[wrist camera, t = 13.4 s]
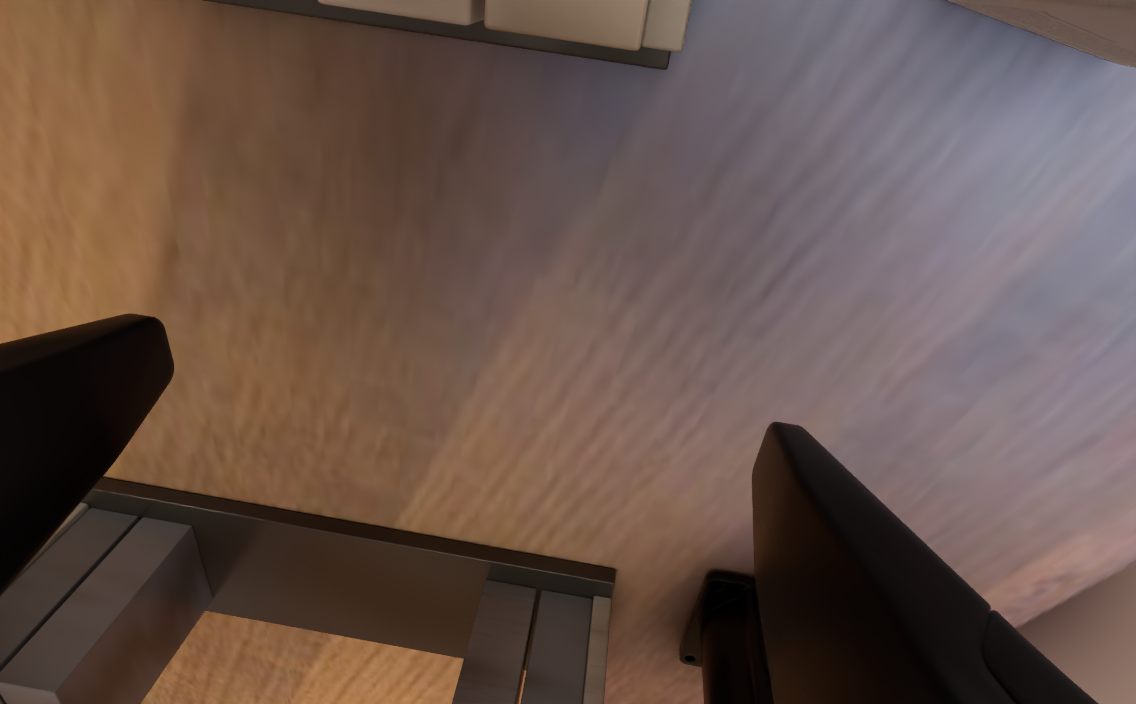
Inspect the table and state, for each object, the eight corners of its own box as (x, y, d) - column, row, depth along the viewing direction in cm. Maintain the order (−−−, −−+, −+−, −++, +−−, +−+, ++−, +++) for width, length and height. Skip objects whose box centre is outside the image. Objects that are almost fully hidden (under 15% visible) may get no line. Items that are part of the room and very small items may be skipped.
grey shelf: (591, 667, 33) (572, 873, 26) (122, 581, 34) (-27, 755, 26) (616, 569, 29) (601, 781, 21) (78, 472, 30) (-114, 643, 22)
